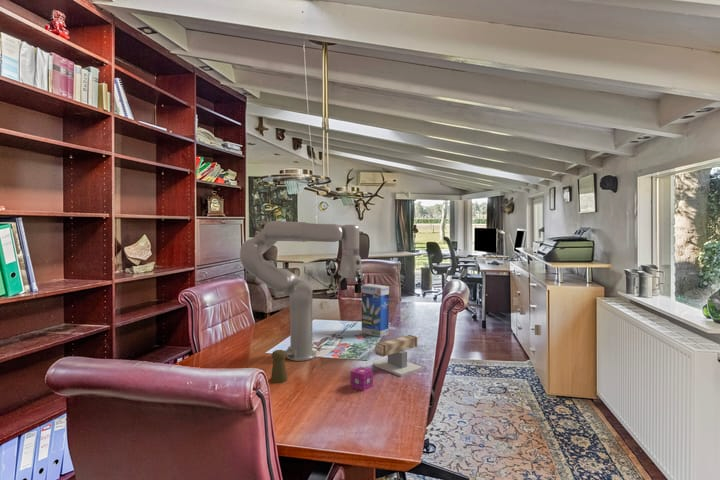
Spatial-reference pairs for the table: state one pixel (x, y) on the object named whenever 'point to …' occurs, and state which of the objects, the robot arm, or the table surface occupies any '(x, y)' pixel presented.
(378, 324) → the string lights box
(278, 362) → the cork
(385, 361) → the ridge block
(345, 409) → the table surface
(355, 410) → the table surface
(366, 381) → the puzzle toy
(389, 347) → the beech bar
